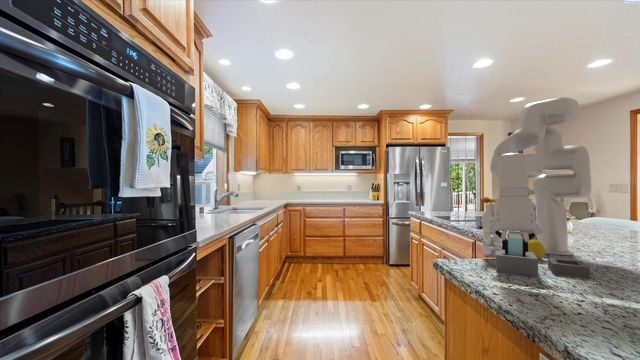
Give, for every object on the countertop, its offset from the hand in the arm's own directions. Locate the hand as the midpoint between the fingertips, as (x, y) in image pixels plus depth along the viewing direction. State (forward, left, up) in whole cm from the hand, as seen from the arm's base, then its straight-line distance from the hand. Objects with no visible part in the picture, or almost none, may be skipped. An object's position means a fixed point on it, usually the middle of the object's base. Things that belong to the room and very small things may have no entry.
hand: (514, 252), depth 85 cm
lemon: (-20, +7, -6) cm, 22 cm away
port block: (0, 0, -6) cm, 6 cm away
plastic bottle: (-18, -6, -6) cm, 20 cm away
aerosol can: (-84, +11, -6) cm, 85 cm away
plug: (-1, 0, -4) cm, 4 cm away
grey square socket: (-5, +13, -6) cm, 15 cm away
